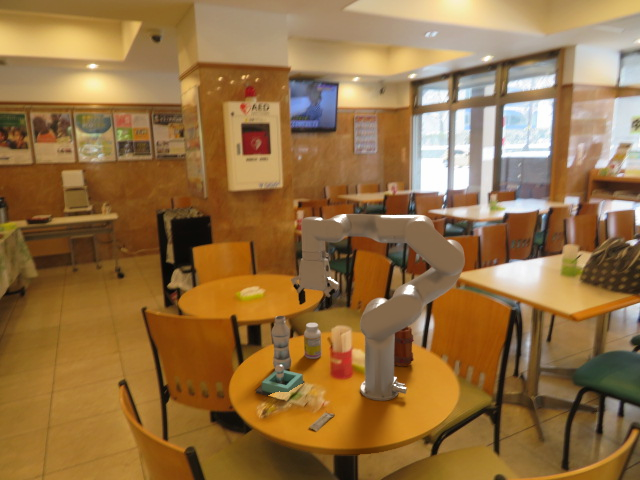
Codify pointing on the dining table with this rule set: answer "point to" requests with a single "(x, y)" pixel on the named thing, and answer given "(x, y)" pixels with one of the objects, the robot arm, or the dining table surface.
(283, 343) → the plastic bottle
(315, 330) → the supplement bottle
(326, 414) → the snack bar
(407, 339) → the mug
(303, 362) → the dining table surface
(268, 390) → the teal square frame
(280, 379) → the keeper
